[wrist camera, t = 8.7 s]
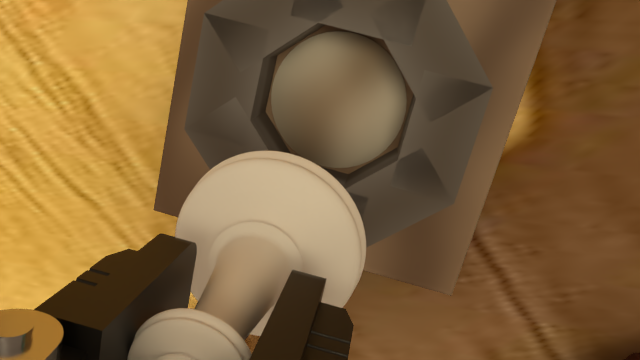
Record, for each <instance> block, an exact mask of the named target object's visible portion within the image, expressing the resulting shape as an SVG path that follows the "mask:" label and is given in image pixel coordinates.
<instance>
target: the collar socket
mask: <svg viewBox="0 0 640 360" xmlns="http://www.w3.org/2000/svg"><path fill="white" fill-rule="evenodd" d="M555 3H556V0H188V2H187V8H186V15H185V21H184V27H183V33H182V39H181V45H180V51H179V58H178V64H177V70H176V76H175V82H174V88H173V94H172V101H171V107H170V113H169V119H168V125H167V131H166V137H165V144H164V150H163V156H162V162H161V168H160V174H159V180H158V187H157V193H156V199H155V205H154V210H155V211H158V212H162V213H165V214H169V215H172V216H176V217H179V214H180V211H181V208H182V206H183V204H184V202H185V200H186V199H187V197H188V195H189V194H190V193H191V191H192V190H193V189H194V187H195V186H196V184H197V183H198V182H199V180H200V179H201V178H202V177H203V176H204V175H205V174H206V173H207V172H208V171H209V170H211V169H212V168H213V167H215V166H216V165H218V164H219V163H221V162H223V161H224V160H227V159H229V158H231V157H234V156H236V155H239V154H243V153H247V152H253V151H279V152H285V153H289V154H293V155H296V156H299V157H302V158H304V159H307V160H309V161H311V162H313V163H315V164H317V165H318V166H320V167H321V168H323V169H324V170H326V171H327V172H328V173H330V174H331V175H332V176H333V177H334V178H335V179H337V180H338V182H339V183H340V184H341V185H342V186H343V187H344V188H345V189H346V191H347V192H348V193H349V195H350V196H351V198H352V200H353V201H354V203H355V205H356V207H357V209H358V211H359V213H360V216H361V219H362V222H363V226H364V230H365V236H366V258H365V264H364V268H363V270H364V271H367V272H370V273H374V274H377V275H381V276H384V277H388V278H391V279H395V280H398V281H402V282H405V283H409V284H412V285H416V286H419V287H423V288H426V289H430V290H433V291H437V292H440V293H443V294H447V295H450V296H451V295H452V293H453V290H454V287H455V284H456V281H457V279H458V276H459V273H460V270H461V267H462V265H463V262H464V259H465V256H466V253H467V250H468V248H469V245H470V242H471V239H472V236H473V234H474V231H475V228H476V225H477V222H478V220H479V217H480V214H481V211H482V208H483V206H484V203H485V200H486V197H487V194H488V191H489V189H490V186H491V183H492V180H493V177H494V175H495V172H496V169H497V166H498V163H499V161H500V158H501V155H502V152H503V149H504V146H505V144H506V141H507V138H508V135H509V132H510V130H511V127H512V124H513V121H514V118H515V116H516V113H517V110H518V107H519V104H520V102H521V99H522V96H523V93H524V90H525V87H526V85H527V82H528V79H529V76H530V73H531V71H532V68H533V65H534V62H535V59H536V57H537V54H538V51H539V48H540V45H541V42H542V40H543V37H544V34H545V31H546V28H547V26H548V23H549V20H550V17H551V14H552V12H553V9H554V6H555Z"/></svg>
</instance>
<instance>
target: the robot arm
mask: <svg viewBox="0 0 640 360" xmlns="http://www.w3.org/2000/svg"><path fill="white" fill-rule="evenodd" d="M196 255H197V246H196V243H195V242H191V241H187V240H184V239H180V238H176V237H173V236H169V235H165V234H159V235H157V236H156V237H155V238H154V239H152V240H151V241H150V242H149V243H147V244H146V245H145V246H144V247H143V248H141V249H140V250H139V251H135V250H131V249H127V250H124V251H121V252H118V253H115V254H111V255H108V256H106V257H104V258H103V259H102V260H100V261H99V262H98V263H96V264H95V265H94V266H92V267H91V268H90V270H89V271H88V270H87V271H85V272H84V273H83V274H81V275H80V276H79V277H77V279H76V281H74V280H73V281H72V282H71V283H69V284H68V285H67V286H65V287H64V288H63V289H61V290H60V291H59V292H57V293H56V294H54V295H53V296H52V297H50V298H49V299H48V300H46V301H45V302H44V303H42V304H41V305H40V306H38V307H37V308H36V309H34V310H30V309H7V310H0V360H127V358H128V353H129V350H130V347H131V345H132V343H133V341H134V337H135V334H136V332H137V331H138V329H139V328H140V327H141V326H142V325H143V324H144V322H146V321H147V320H148V319H149V318H151V317H152V316H154V315H156V314H158V313H160V312H163V311H166V310H170V309H177V308H188V303H189V297H190V291H191V285H192V279H193V273H194V267H195V261H196ZM325 284H326V278H322V277H319V276H315V275H311V274H308V273H304V272H300V271H297V270H292V271H291V273H290V275H289V277H288V279H287V282H286V284H285V286H284V288H283V290H282V292H281V294H280V296H279V298H278V300H277V302H276V305H275V307H274V309H273V311H272V313H271V315H270V317H269V319H268V321H267V323H266V326H265V328H264V330H263V332H262V334H261V336H260V338H259V340H258V342H257V344H256V347H255V349H254V351H253V353H252V355H251V357H250V359H249V360H348V354H349V348H350V342H351V337H352V331H353V323H352V321H351V319H350V317H349V315H348V313H347V311H346V309H344V308H340V307H336V306H333V305H329V304H326V303H322V302H321V300H322V296H323V292H324V288H325Z"/></svg>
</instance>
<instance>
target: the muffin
mask: <svg viewBox="0 0 640 360" xmlns="http://www.w3.org/2000/svg"><path fill="white" fill-rule="evenodd" d="M624 360H640V353H632V354H631V355H630V356H628V357H627V358H625V359H624Z"/></svg>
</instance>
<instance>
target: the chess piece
mask: <svg viewBox="0 0 640 360" xmlns="http://www.w3.org/2000/svg"><path fill="white" fill-rule="evenodd" d="M175 237H176V238H180V239H184V240H187V241H191V242H195V243H196V246H197V255H196V261H195V267H194V273H193V279H192V285H191V293H192V294H193V295H194V297H195V298H196V299H197V300H198V303H197V305H196V307H195V309H190V308H177V309H170V310H166V311H163V312H160V313H158V314H156V315H154V316H152V317H151V318H149V319H148V320H147V321H146V322H144V324H143V325H142V326H141V327H140V328H139V329H138V331H137V332H136V334H135V337H134V341H133V343H132V345H131V347H130V350H129V353H128V358H127V360H249V359H250V357H251V355H252V354H251V351H250V349H249V347H248V346H247V344H246V342H245V339H246V338H247V337H248V336H249V334H252V335H256V336H261V334H262V332H263V330H264V328H265V326H266V323H267V321H268V319H269V317H270V315H271V313H272V311H273V309H274V307H275V305H276V302H277V300H278V298H279V296H280V294H281V292H282V290H283V288H284V286H285V284H286V282H287V279H288V277H289V275H290V273H291V271H292V270H297V271H300V272H304V273H308V274H311V275H315V276H319V277H322V278H326V284H325V288H324V292H323V296H322V300H321V302H322V303H326V304H329V305H333V306H336V307H340V308H343V306H344V305H345V304H346V303H347V301H348V300H349V298H350V296H351V295H352V293H353V291H354V289H355V287H356V286H357V284H358V282H359V280H360V277H361V274H362V271H363V268H364V264H365V258H366V236H365V230H364V226H363V222H362V219H361V216H360V213H359V211H358V209H357V207H356V205H355V203H354V201H353V200H352V198H351V196H350V195H349V193H348V192H347V191H346V189H345V188H344V187H343V186H342V185H341V184H340V183H339V182H338V180H337V179H335V178H334V177H333V176H332V175H331V174H330V173H328V172H327V171H326V170H324V169H323V168H321V167H320V166H318V165H317V164H315V163H313V162H311V161H309V160H307V159H304V158H302V157H299V156H296V155H293V154H289V153H285V152H279V151H253V152H247V153H243V154H239V155H236V156H234V157H231V158H229V159H227V160H224V161H223V162H221V163H219V164H218V165H216V166H215V167H213V168H212V169H211V170H209V171H208V172H207V173H206V174H205V175H204V176H203V177H202V178H201V179H200V180H199V182H198V183H197V184H196V186H195V187H194V189H193V190H192V191H191V193H190V194H189V195H188V197H187V199H186V200H185V202H184V204H183V206H182V208H181V211H180V214H179V217H178V220H177V225H176V232H175Z"/></svg>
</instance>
